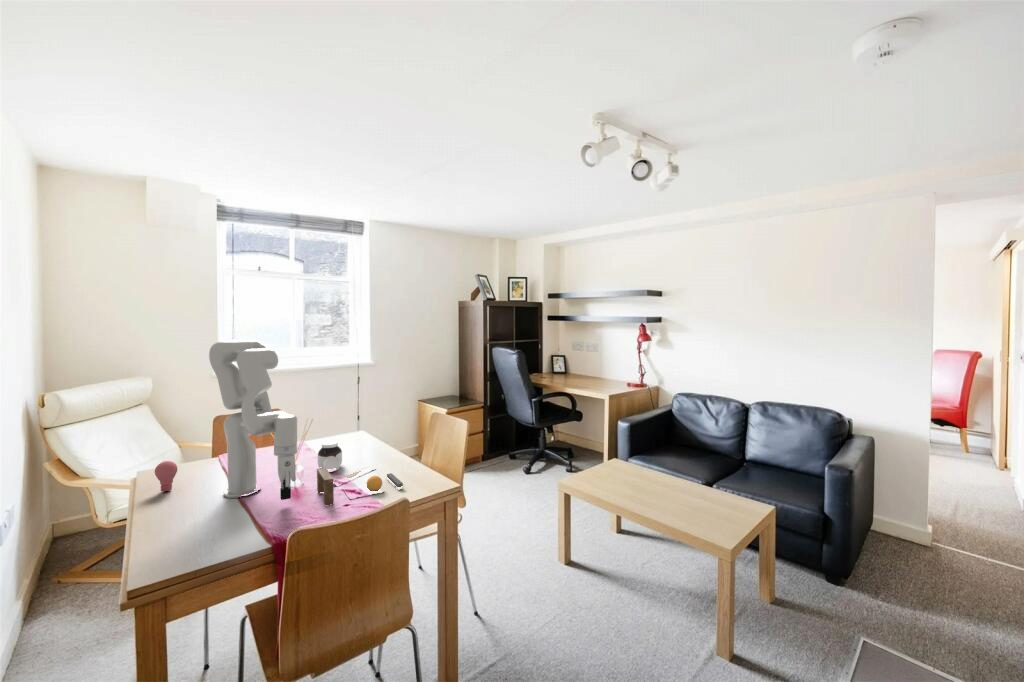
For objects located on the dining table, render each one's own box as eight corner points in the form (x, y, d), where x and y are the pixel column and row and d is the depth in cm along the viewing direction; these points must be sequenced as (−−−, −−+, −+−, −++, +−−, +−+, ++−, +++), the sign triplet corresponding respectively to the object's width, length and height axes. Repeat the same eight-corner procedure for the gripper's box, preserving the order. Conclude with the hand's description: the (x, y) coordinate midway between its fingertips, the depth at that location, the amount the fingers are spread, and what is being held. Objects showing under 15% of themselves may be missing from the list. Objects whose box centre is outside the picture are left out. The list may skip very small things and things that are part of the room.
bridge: (325, 506, 164) (324, 480, 163) (317, 492, 176) (317, 468, 176) (333, 504, 165) (333, 478, 165) (325, 491, 178) (325, 467, 177)
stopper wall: (387, 479, 191) (386, 474, 191) (391, 478, 192) (391, 473, 192) (398, 490, 179) (398, 484, 179) (402, 489, 180) (402, 483, 180)
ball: (379, 488, 182) (364, 489, 179) (380, 473, 183) (365, 474, 180) (383, 492, 177) (367, 493, 174) (384, 477, 177) (368, 478, 174)
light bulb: (173, 486, 182) (172, 457, 181) (181, 490, 178) (180, 460, 178) (152, 492, 176) (151, 462, 175) (160, 496, 172) (159, 465, 172)
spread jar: (333, 463, 212) (332, 439, 211) (350, 467, 207) (350, 442, 206) (311, 471, 201) (311, 445, 201) (329, 475, 196) (328, 449, 196)
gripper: (300, 453, 159) (300, 504, 160) (294, 442, 171) (293, 489, 172) (276, 456, 154) (276, 508, 156) (271, 445, 167) (271, 493, 168)
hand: (285, 498), depth 164 cm, fingers closed
